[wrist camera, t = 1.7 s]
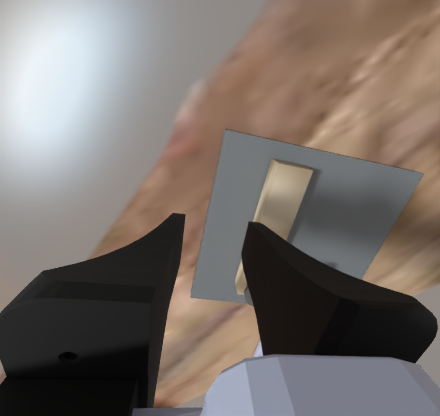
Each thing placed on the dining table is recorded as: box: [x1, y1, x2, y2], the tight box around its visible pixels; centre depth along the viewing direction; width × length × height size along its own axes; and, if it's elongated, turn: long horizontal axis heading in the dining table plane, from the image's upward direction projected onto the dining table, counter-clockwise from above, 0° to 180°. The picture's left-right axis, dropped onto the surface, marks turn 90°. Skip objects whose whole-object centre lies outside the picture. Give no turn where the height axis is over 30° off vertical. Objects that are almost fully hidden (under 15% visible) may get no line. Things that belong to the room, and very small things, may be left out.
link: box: [235, 159, 313, 306], centre depth 20 cm, size 14×3×4 cm, turn 168°
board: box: [191, 129, 424, 303], centre depth 24 cm, size 19×20×1 cm
